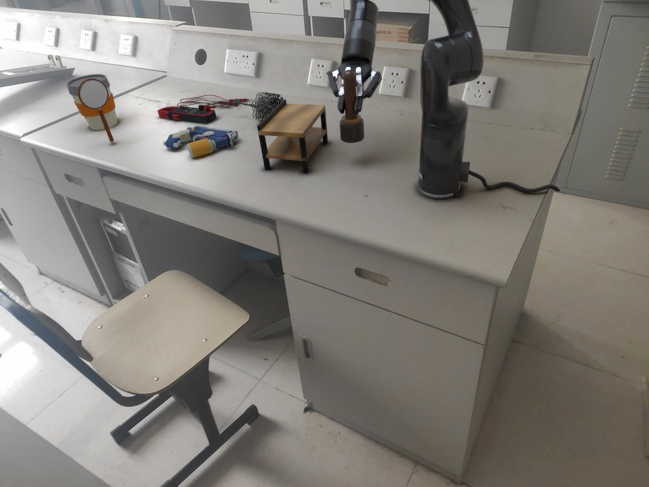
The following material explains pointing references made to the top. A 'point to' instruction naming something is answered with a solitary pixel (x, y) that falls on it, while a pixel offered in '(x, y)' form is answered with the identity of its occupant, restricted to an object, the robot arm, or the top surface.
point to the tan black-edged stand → (292, 132)
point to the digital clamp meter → (194, 111)
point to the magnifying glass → (95, 99)
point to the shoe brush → (350, 111)
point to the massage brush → (262, 104)
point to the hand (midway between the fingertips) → (348, 112)
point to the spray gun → (201, 139)
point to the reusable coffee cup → (93, 114)
